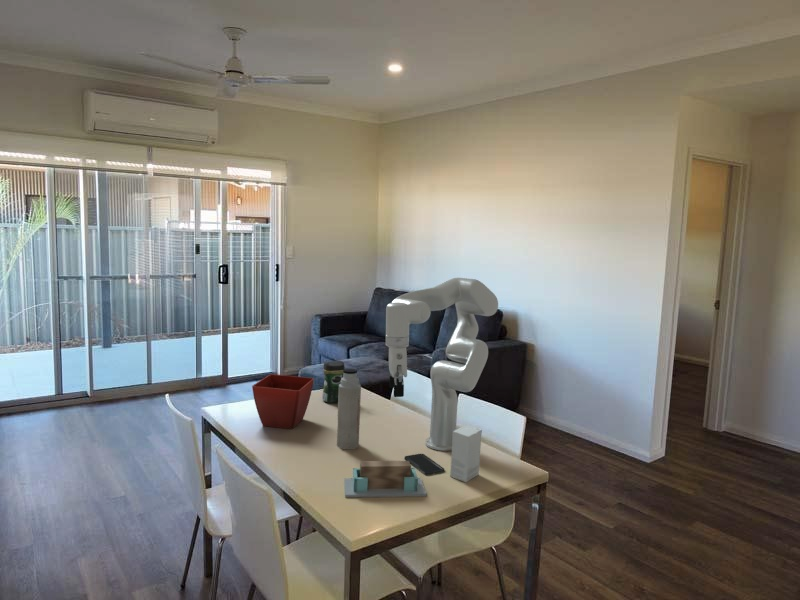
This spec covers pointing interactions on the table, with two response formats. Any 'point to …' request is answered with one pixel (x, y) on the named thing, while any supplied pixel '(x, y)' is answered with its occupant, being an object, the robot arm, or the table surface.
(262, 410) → the plant pot
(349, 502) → the table surface
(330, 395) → the coffee jar
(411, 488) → the rail
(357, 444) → the thermos bottle
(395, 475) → the brown wooden block
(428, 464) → the phone
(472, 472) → the skincare box
